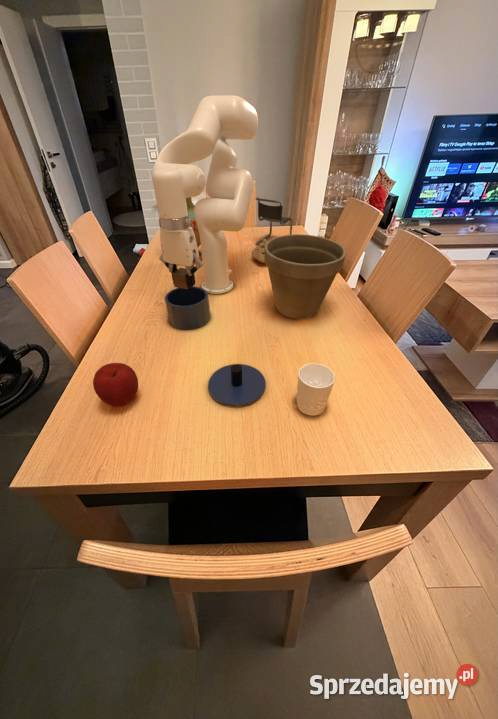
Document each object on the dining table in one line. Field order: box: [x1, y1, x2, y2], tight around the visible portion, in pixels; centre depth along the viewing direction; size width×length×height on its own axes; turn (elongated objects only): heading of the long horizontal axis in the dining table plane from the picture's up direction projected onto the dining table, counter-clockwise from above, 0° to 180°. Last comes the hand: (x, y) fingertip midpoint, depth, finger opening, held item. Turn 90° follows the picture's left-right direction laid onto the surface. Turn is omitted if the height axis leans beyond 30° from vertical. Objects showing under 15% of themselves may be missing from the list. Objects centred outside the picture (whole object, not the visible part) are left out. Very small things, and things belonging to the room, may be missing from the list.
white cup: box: [296, 362, 336, 417], centre depth 69 cm, size 8×8×10 cm
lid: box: [207, 363, 267, 407], centre depth 75 cm, size 15×15×6 cm
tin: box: [164, 285, 211, 331], centre depth 98 cm, size 14×14×8 cm
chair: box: [255, 196, 293, 246], centre depth 149 cm, size 13×17×22 cm
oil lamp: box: [251, 238, 268, 264], centre depth 135 cm, size 11×15×8 cm
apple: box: [92, 362, 139, 408], centre depth 70 cm, size 10×10×10 cm
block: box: [171, 267, 188, 289], centre depth 92 cm, size 4×4×4 cm
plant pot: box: [264, 233, 347, 320], centre depth 99 cm, size 25×25×22 cm
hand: (184, 284), depth 93 cm, fingers closed on block, 4 cm apart
